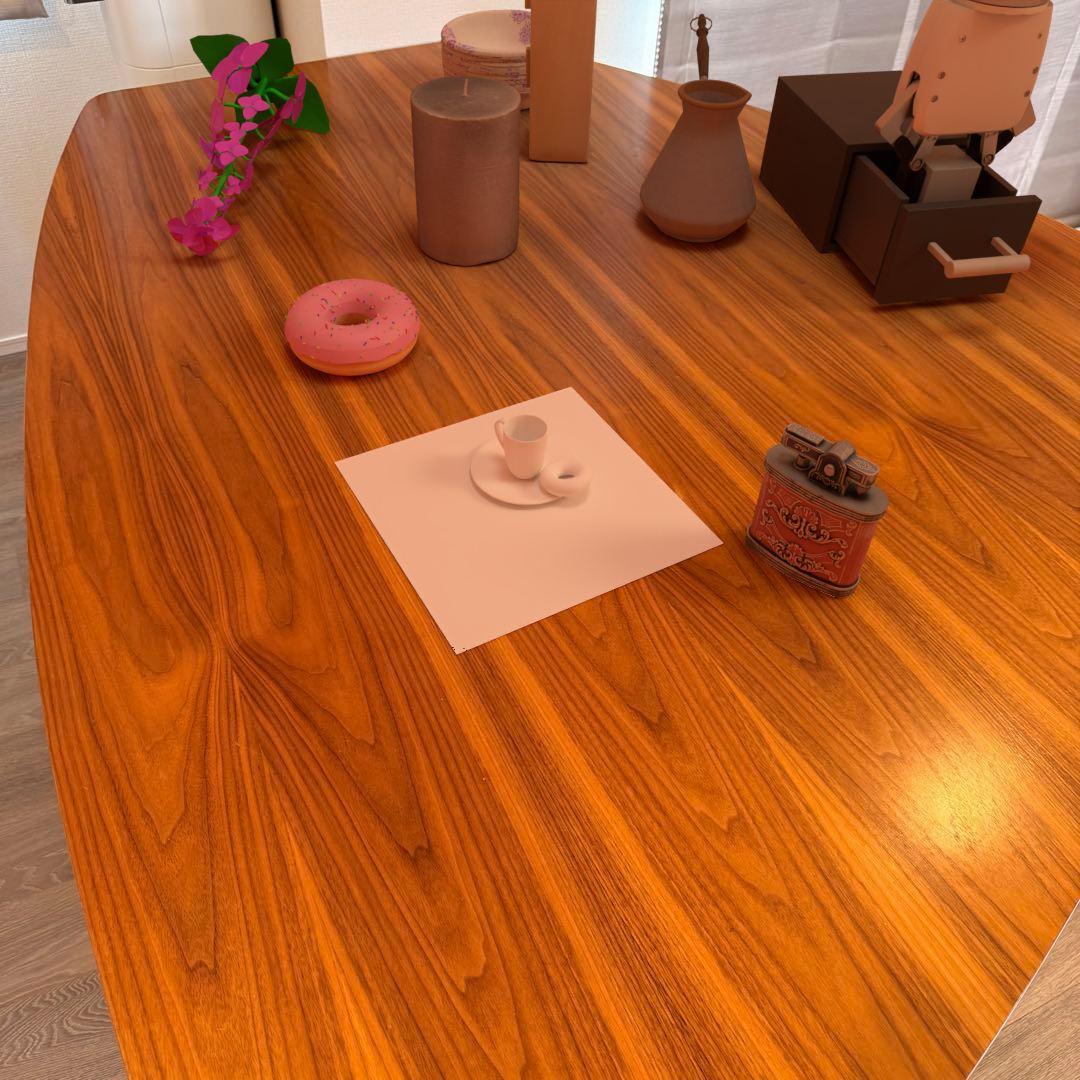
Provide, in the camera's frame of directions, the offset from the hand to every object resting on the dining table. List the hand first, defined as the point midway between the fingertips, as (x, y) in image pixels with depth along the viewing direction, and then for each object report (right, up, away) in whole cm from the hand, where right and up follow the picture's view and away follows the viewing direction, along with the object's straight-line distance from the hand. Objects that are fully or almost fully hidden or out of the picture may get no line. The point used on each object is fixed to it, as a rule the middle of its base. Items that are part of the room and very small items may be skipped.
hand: (929, 203), depth 87 cm
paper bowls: (-39, +24, +32) cm, 56 cm away
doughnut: (-50, -14, -6) cm, 53 cm away
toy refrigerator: (-33, +14, +22) cm, 42 cm away
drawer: (0, -5, +3) cm, 6 cm away
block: (0, 0, 0) cm, 0 cm away
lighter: (-18, -32, -23) cm, 43 cm away
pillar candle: (-42, -2, +7) cm, 42 cm away
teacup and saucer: (-36, -28, -19) cm, 50 cm away
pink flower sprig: (-65, +7, +14) cm, 67 cm away
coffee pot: (-19, +5, +14) cm, 24 cm away
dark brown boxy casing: (-3, +4, +14) cm, 15 cm away
